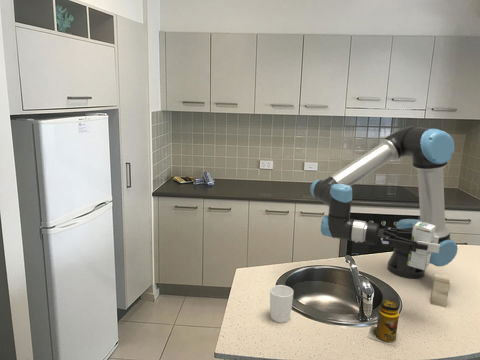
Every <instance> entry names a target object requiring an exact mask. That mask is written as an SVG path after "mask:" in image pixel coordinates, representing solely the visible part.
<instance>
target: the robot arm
mask: <svg viewBox="0 0 480 360" xmlns="http://www.w3.org/2000/svg"><path fill="white" fill-rule="evenodd" d="M454 152H455V142H454V139H453V137H452V136H451V135H450V134H449V133H448V132H446V131H444V130H440V129H438V128H429V127H422V126H418V125H417V126H416V125H412V126H411V125H410V126H406V127H403V128H400V129H399V130H396V131H395V132H393V133H391V134H389V135H387V136H385V138H383V139H381V141H380V144H379V145H376V146H375V147H374V148H372V149H370V150H369V151H367V152H366V153H364V154H362V155H361V156H360V157H358V158H356V159H355V160H353V161H352V162H350V163H349V164H347V165H346V166H344V167H342V168H341V169H339V170H338V171H336V172H335V173H333V174H331V175H329V177H326V178H325V179H316V180H315V181H313V182H311V184H310V186H309V187H310V188H309V190H310V194H311V195H312V197H313V198H315V200H317V201H319V202H322V203H323V204H324V205H325V206H327V207H328V214H327V215H323V216H322V219H321V224H320V233H321V235H323V236H325V237H330V238H333V239H339V240H345V241H351V242H355V244H357V243H364V242H365V244H367V245H372V246H375V245H377V243H378V242H380V243H381V246H383V247H391V248H393V251H392V254H391V256H390V257H389V260H388V261H387V270H388V271H389V272H390V273H392V274H394V275H395V276H396V275H397V276H399V277H402V278H407V279H420V278H423V277H424V276H425V274H426V273H425V272H426V269H425V270H422V269H418V268H414V267H411V266H408V265H407V262H408V255H409V251H413V252H416V249H418V250H423V251H429V252H431V257H430V263H429V265H430V264H431V265H433V266H435V267H444V266H447V265H449V264H450V263H451V262H452V261H453V260H454V259H455V258H456V256H457V254H458V249H459V247H458V245H457V243H456V242H455V241H454V240H453V239H451V230H450V228H448V227H447V226H446V215H445V213H446V211H445V191H444V188H445V187H444V186H445V184H444V168H445V167H446V166H447V165H448V162H449V161H450V160H451V159H452V155H454ZM403 157H411V161H412V162H411V163H412V167H413V168H414V169H415V170H417V184H418V200H419V217H420V218H419V219H415V218H406V219H405V218H403V219H400V220H399V221H397V224H396V227H390V226H385V228H380V225H379V223H376V222H371V221H369V222H367V221H366V220H365V221H364V220H359V219H358V220H357V219H352V218H350V217H351V211H352V210H351V209H352V202H353V201H352V200H353V187H352V186H353V185H355V184H356V183H358V182H360V181H361V180H362V179H364V178H365V177H367V176H369V175H370V174H371V173H373V172H375V171H376V170H378V169H380V168H381V167H383V166H384V165H386V164H387V163H389V162H390V161H397V160H399V159H401V158H403ZM418 222H424V223H428V224H432V225H434V226H436V228H435V234H434V240H433V243H428V242H422V241H417V242H415V241H412V240H411V237H412V231H413V226H414V225H415V224H416V223H418Z"/></svg>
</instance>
